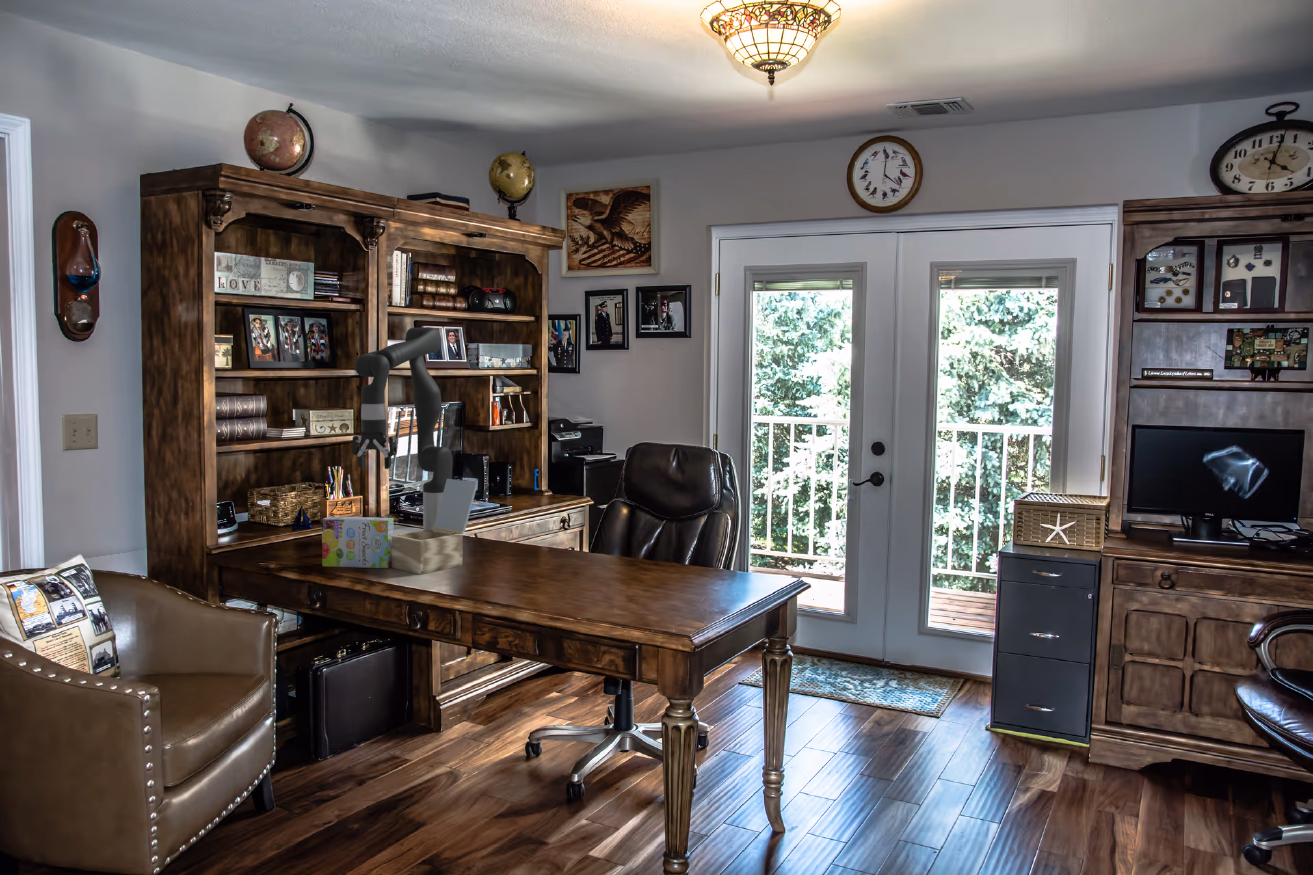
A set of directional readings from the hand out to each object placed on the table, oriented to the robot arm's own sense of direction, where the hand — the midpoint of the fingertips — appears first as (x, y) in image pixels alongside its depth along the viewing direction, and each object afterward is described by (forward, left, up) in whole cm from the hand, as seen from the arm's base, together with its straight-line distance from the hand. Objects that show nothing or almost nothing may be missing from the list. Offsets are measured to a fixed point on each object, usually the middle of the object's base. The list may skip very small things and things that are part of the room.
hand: (374, 468), depth 299 cm
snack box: (+11, +6, -29) cm, 32 cm away
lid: (-13, +23, -11) cm, 28 cm away
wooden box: (-2, +23, -29) cm, 37 cm away
